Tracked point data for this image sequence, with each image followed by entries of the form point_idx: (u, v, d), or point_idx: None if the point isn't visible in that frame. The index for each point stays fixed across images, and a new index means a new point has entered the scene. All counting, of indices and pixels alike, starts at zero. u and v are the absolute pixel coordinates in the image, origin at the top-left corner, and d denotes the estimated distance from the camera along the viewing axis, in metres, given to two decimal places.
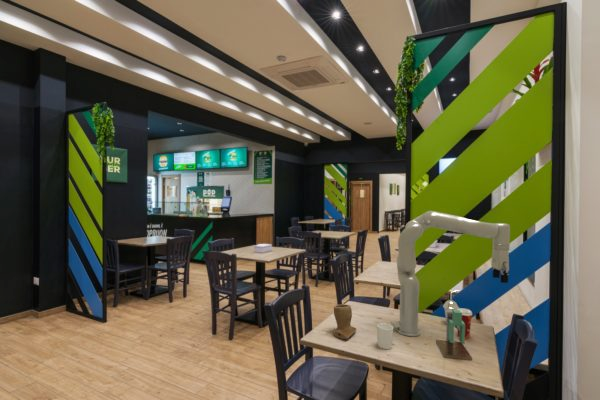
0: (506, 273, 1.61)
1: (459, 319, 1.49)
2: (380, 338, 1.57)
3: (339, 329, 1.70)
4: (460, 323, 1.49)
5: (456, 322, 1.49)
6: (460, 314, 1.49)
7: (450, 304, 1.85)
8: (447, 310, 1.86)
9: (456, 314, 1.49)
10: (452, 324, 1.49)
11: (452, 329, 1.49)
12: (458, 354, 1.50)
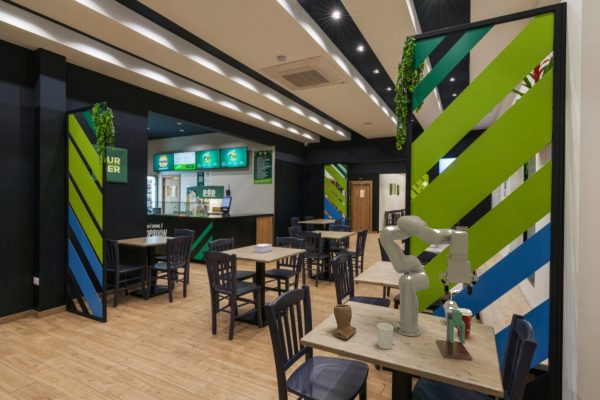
0: None
1: (459, 319, 1.49)
2: (380, 338, 1.57)
3: (339, 329, 1.70)
4: (460, 323, 1.49)
5: (456, 322, 1.49)
6: (460, 314, 1.49)
7: (450, 304, 1.85)
8: (447, 310, 1.86)
9: (456, 314, 1.49)
10: (452, 324, 1.49)
11: (452, 329, 1.49)
12: (458, 354, 1.50)
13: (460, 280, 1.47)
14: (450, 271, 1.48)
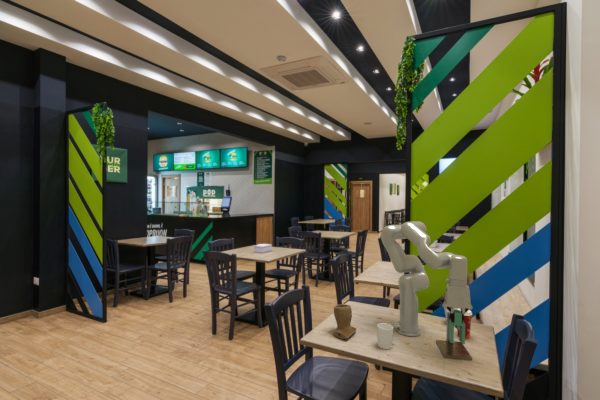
0: None
1: (459, 318, 1.49)
2: (380, 338, 1.57)
3: (339, 329, 1.70)
4: (460, 323, 1.49)
5: (456, 322, 1.49)
6: (460, 314, 1.48)
7: None
8: (447, 310, 1.86)
9: (456, 314, 1.49)
10: (452, 324, 1.49)
11: (452, 329, 1.49)
12: (458, 354, 1.50)
13: (459, 305, 1.48)
14: (449, 296, 1.49)
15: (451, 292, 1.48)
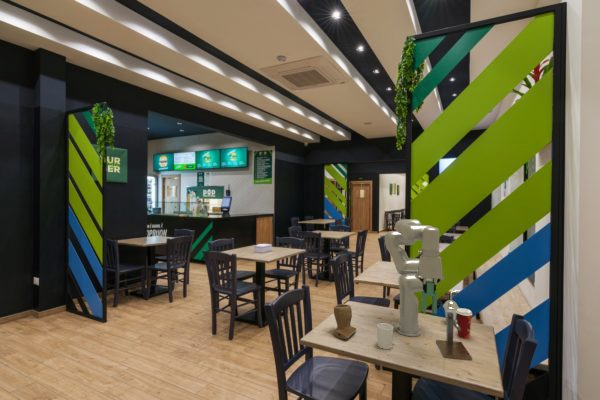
0: None
1: (431, 289, 1.51)
2: (380, 338, 1.57)
3: (339, 329, 1.70)
4: (432, 293, 1.51)
5: (428, 292, 1.52)
6: (432, 284, 1.51)
7: (450, 304, 1.85)
8: (447, 310, 1.86)
9: (428, 284, 1.52)
10: (424, 294, 1.52)
11: (424, 299, 1.52)
12: (458, 354, 1.50)
13: (431, 276, 1.51)
14: (422, 267, 1.51)
15: (423, 263, 1.51)
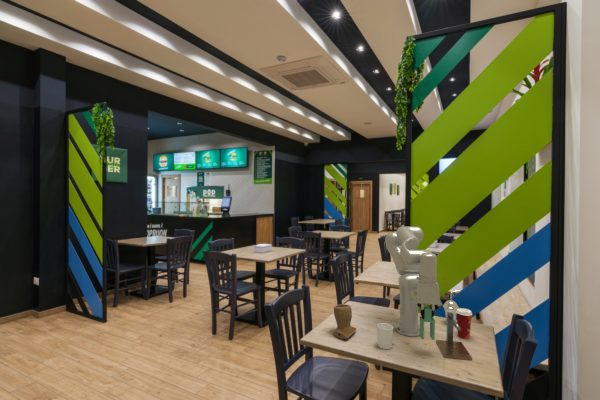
0: None
1: (429, 315, 1.52)
2: (380, 338, 1.57)
3: (339, 329, 1.70)
4: (430, 319, 1.52)
5: (426, 318, 1.52)
6: (430, 310, 1.52)
7: (450, 304, 1.85)
8: (447, 310, 1.86)
9: (426, 310, 1.52)
10: (422, 320, 1.52)
11: (422, 325, 1.52)
12: (458, 354, 1.50)
13: (429, 302, 1.51)
14: (419, 293, 1.52)
15: (421, 289, 1.52)
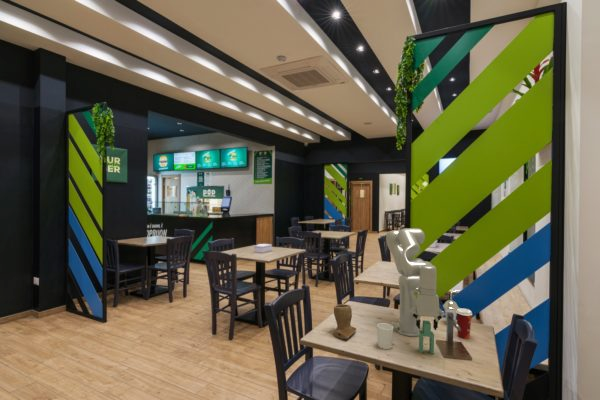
0: None
1: (428, 329, 1.53)
2: (380, 338, 1.57)
3: (339, 329, 1.70)
4: (429, 334, 1.53)
5: (425, 333, 1.53)
6: (429, 325, 1.53)
7: (450, 304, 1.85)
8: (447, 310, 1.86)
9: (425, 325, 1.53)
10: (421, 335, 1.53)
11: (422, 339, 1.53)
12: (458, 354, 1.50)
13: (428, 314, 1.51)
14: (419, 305, 1.52)
15: (421, 301, 1.52)
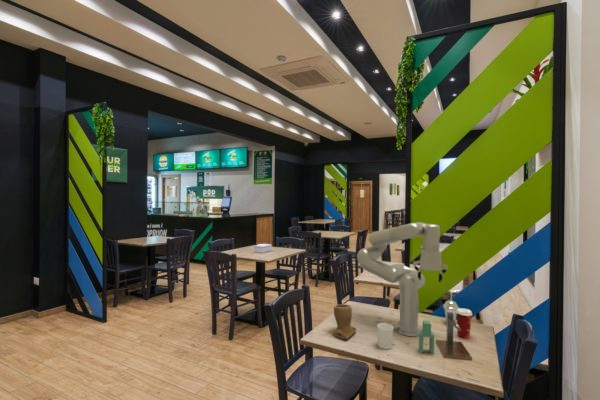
0: None
1: (428, 330, 1.52)
2: (380, 338, 1.57)
3: (339, 329, 1.70)
4: (429, 334, 1.52)
5: (425, 333, 1.53)
6: (429, 325, 1.52)
7: (450, 304, 1.85)
8: (447, 310, 1.86)
9: (425, 325, 1.53)
10: (422, 335, 1.53)
11: (422, 340, 1.53)
12: (458, 354, 1.50)
13: (431, 268, 1.66)
14: (422, 259, 1.67)
15: (424, 256, 1.67)
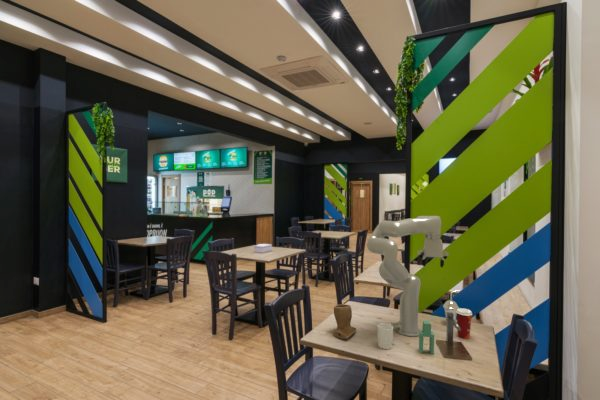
0: None
1: (428, 330, 1.52)
2: (380, 338, 1.57)
3: (339, 329, 1.70)
4: (429, 334, 1.52)
5: (425, 333, 1.53)
6: (429, 325, 1.52)
7: (450, 304, 1.85)
8: (447, 310, 1.86)
9: (425, 325, 1.53)
10: (422, 335, 1.53)
11: (422, 340, 1.53)
12: (458, 354, 1.50)
13: (434, 255, 1.85)
14: (426, 248, 1.86)
15: (428, 244, 1.86)
